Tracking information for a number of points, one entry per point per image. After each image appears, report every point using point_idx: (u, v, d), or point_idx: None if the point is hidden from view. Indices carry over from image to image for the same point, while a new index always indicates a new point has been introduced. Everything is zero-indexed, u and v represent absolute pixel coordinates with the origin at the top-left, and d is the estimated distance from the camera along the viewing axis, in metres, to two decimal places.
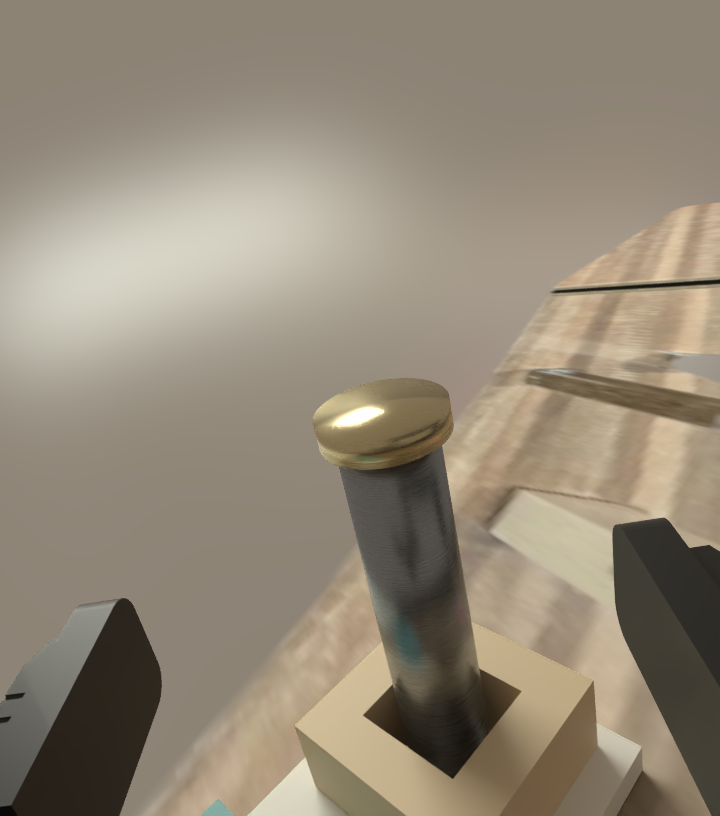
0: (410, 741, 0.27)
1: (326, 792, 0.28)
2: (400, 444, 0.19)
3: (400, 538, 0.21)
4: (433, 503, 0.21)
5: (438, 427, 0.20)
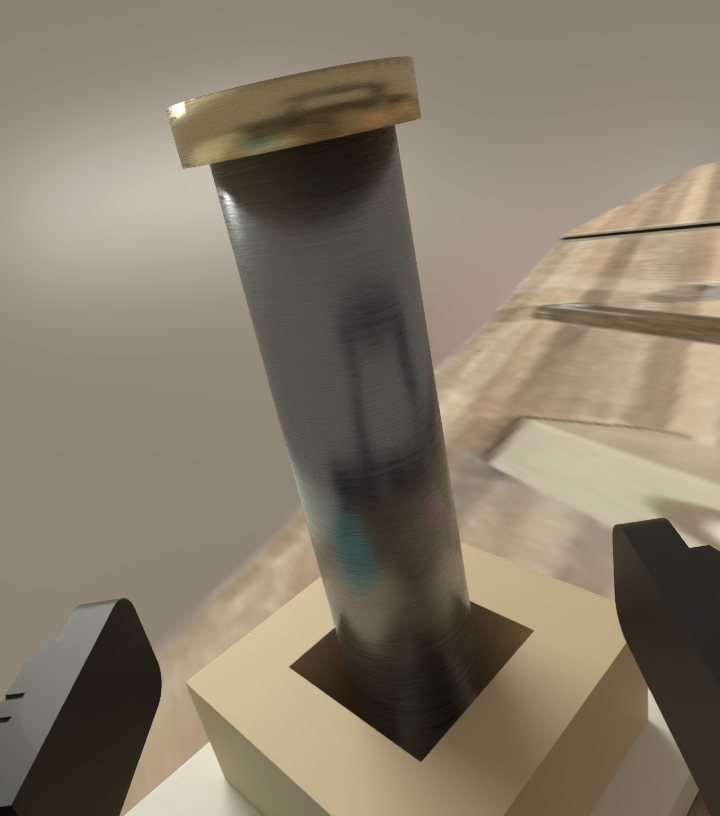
0: (360, 706, 0.17)
1: (237, 786, 0.19)
2: (310, 94, 0.10)
3: (324, 322, 0.12)
4: (383, 258, 0.12)
5: (387, 83, 0.11)
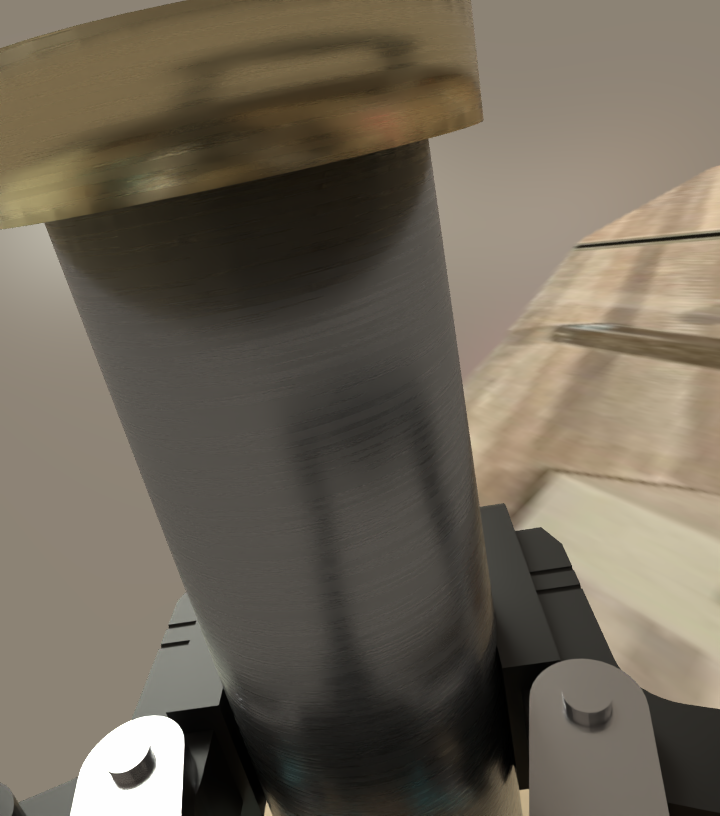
0: None
1: None
2: (222, 58, 0.04)
3: (282, 547, 0.06)
4: (405, 413, 0.06)
5: (422, 36, 0.04)
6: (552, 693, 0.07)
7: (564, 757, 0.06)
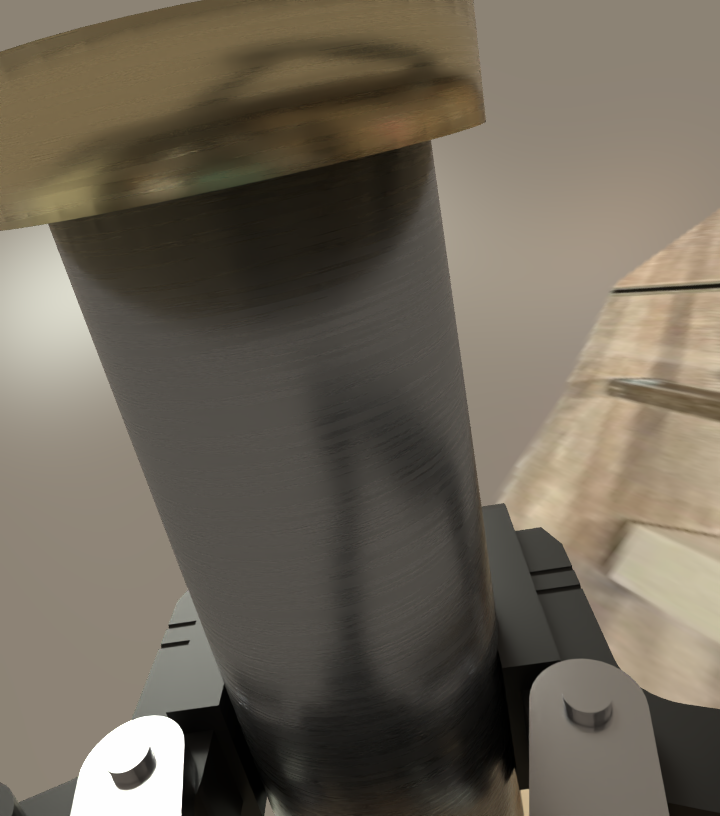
0: None
1: None
2: (226, 59, 0.04)
3: (286, 546, 0.06)
4: (407, 413, 0.06)
5: (425, 37, 0.04)
6: (551, 693, 0.07)
7: (563, 757, 0.06)
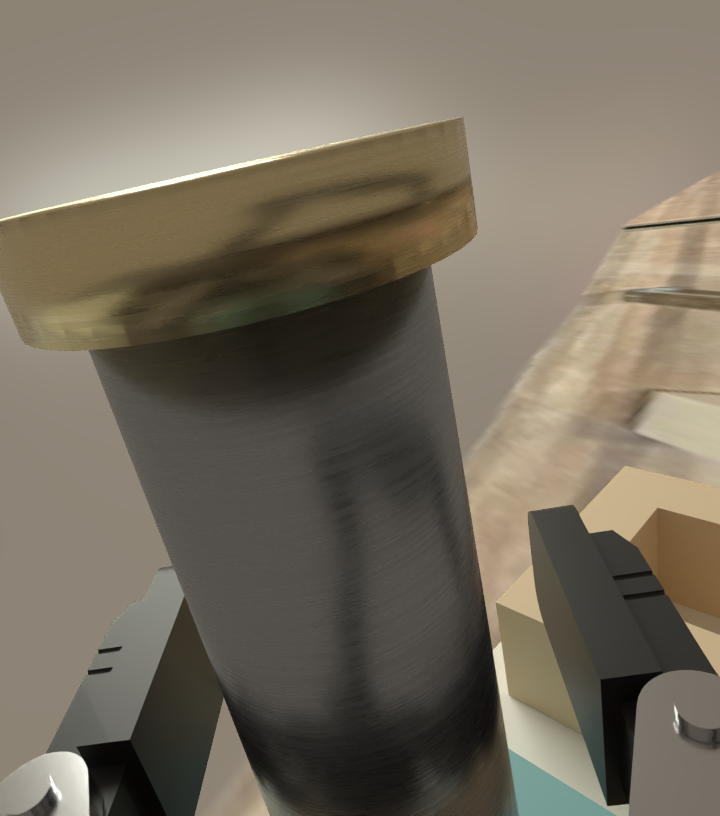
0: None
1: (530, 699, 0.21)
2: (246, 220, 0.04)
3: (298, 619, 0.06)
4: (408, 496, 0.06)
5: (420, 180, 0.05)
6: (661, 707, 0.07)
7: (687, 777, 0.06)
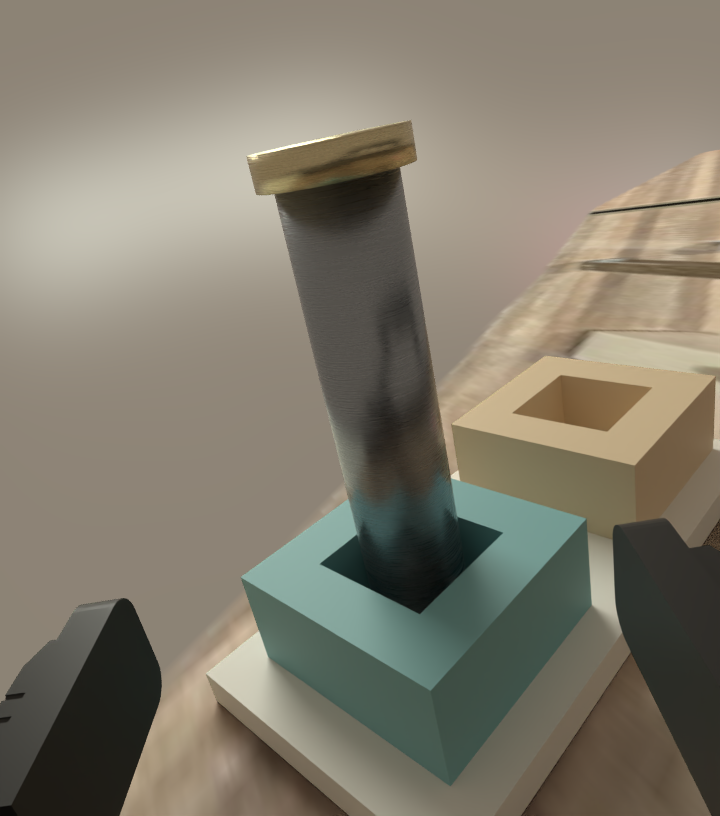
0: (375, 590, 0.23)
1: None
2: (347, 150, 0.16)
3: (353, 298, 0.18)
4: (392, 253, 0.18)
5: (395, 140, 0.16)
6: None
7: None
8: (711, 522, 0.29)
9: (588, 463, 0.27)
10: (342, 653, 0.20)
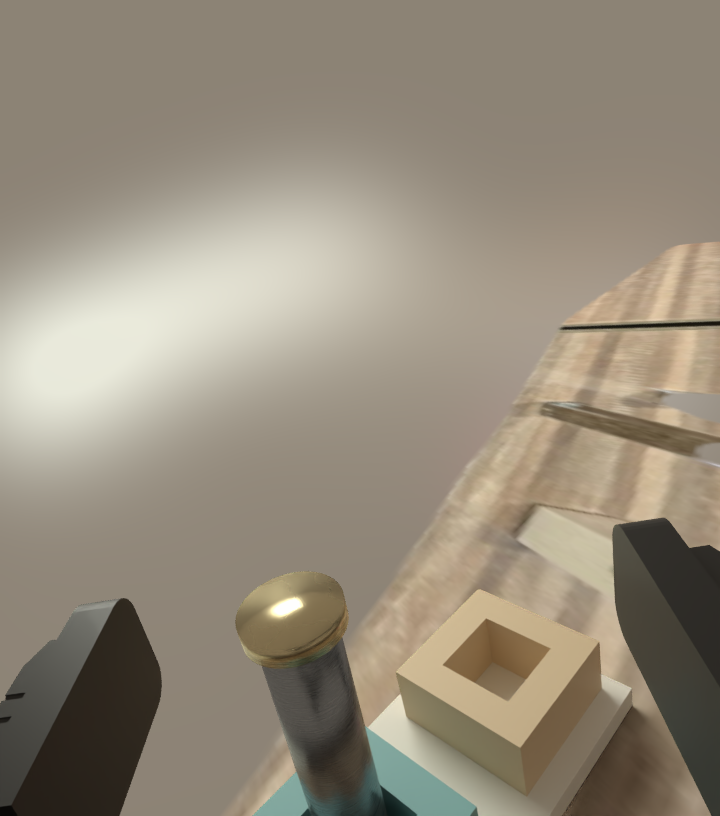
0: None
1: (415, 719, 0.41)
2: (297, 652, 0.25)
3: (304, 713, 0.27)
4: (330, 685, 0.27)
5: (330, 634, 0.25)
6: None
7: None
8: (589, 765, 0.38)
9: (490, 734, 0.36)
10: None
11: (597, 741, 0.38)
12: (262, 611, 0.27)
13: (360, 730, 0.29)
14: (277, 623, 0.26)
